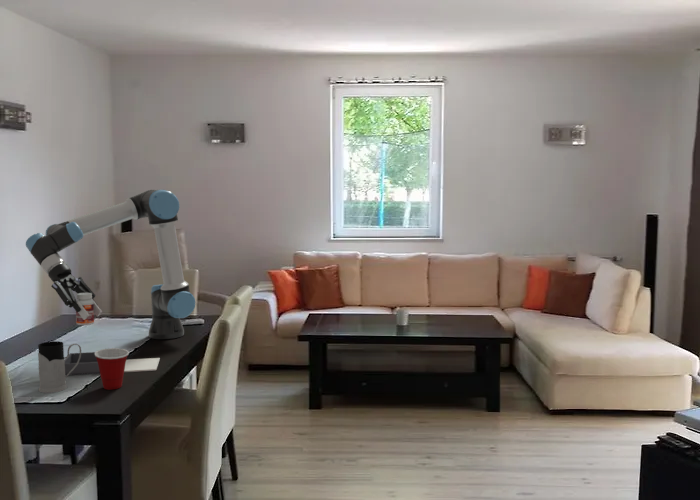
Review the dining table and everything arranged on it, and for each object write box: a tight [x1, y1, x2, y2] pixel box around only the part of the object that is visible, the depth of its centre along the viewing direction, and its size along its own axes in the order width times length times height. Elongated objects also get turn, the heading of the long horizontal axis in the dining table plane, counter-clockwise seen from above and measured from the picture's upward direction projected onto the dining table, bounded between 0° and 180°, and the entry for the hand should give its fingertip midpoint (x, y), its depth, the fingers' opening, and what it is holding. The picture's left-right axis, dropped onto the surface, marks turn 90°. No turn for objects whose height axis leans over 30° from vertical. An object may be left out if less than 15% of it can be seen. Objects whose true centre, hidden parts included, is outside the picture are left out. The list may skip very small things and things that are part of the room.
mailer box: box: [65, 351, 161, 376], centre depth 251 cm, size 32×16×4 cm, turn 101°
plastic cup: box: [94, 347, 130, 391], centre depth 226 cm, size 11×11×12 cm
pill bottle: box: [75, 293, 95, 326], centre depth 251 cm, size 6×6×11 cm
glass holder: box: [37, 340, 82, 394], centre depth 226 cm, size 9×14×15 cm, turn 134°
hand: (93, 315), depth 250 cm, fingers closed on pill bottle, 6 cm apart
